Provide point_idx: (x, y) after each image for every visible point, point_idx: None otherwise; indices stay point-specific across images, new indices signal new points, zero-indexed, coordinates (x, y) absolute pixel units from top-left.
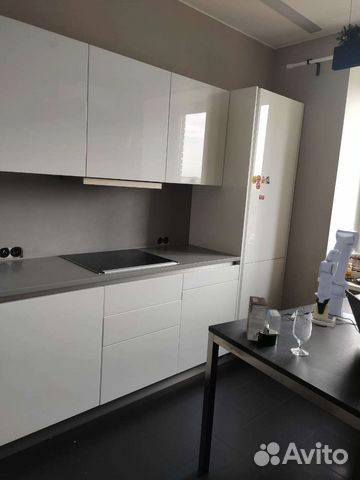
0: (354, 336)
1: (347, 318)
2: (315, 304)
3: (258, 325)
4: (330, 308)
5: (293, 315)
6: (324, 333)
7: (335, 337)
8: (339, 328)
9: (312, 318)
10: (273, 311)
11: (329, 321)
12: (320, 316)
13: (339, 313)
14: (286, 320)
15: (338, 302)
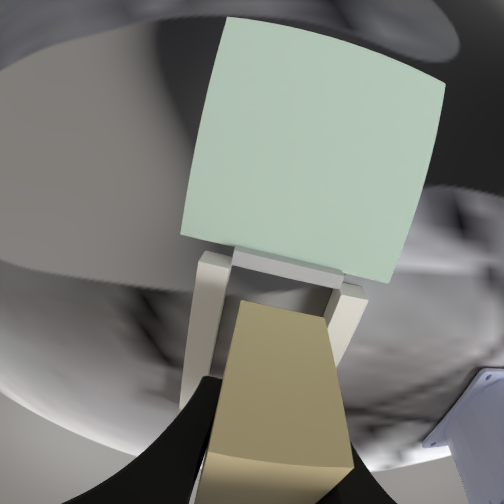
0: (124, 450)
1: (399, 462)
2: (208, 453)
3: None
4: (482, 424)
5: (305, 44)
6: (36, 322)
7: (36, 366)
8: None
9: (279, 274)
10: None
11: None
12: (223, 375)
13: (447, 442)
14: (117, 3)
15: (470, 497)
